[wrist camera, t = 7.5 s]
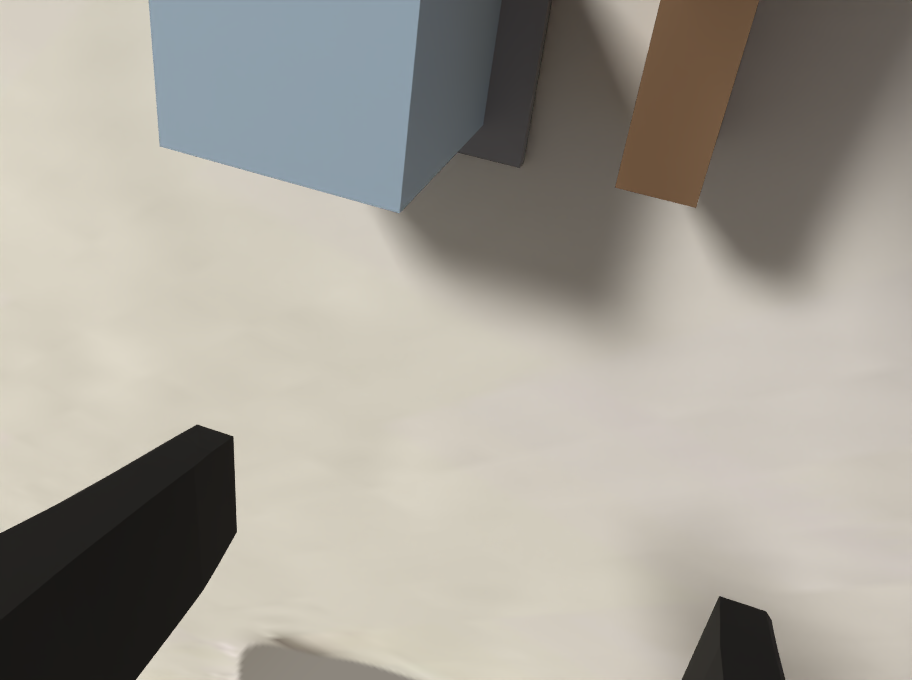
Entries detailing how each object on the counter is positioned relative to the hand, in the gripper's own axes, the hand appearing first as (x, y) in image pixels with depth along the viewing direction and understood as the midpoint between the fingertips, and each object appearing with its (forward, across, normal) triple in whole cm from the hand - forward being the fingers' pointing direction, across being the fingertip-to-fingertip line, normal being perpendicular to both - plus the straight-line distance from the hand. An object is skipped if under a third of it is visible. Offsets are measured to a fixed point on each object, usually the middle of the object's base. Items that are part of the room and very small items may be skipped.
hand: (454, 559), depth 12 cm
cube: (+10, +6, -5) cm, 13 cm away
